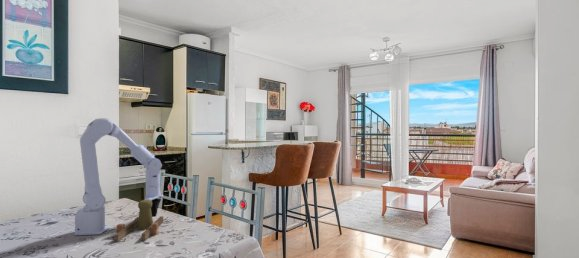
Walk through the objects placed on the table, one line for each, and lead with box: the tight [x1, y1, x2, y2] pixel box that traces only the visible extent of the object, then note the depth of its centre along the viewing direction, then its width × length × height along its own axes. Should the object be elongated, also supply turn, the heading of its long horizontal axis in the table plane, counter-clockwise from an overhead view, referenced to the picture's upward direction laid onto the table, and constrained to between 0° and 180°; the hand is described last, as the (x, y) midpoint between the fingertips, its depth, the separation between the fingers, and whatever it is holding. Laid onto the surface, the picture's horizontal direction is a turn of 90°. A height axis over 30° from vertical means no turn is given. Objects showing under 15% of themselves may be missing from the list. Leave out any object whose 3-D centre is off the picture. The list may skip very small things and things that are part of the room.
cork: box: [136, 199, 154, 231], centre depth 126 cm, size 6×6×11 cm
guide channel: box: [114, 215, 164, 243], centre depth 122 cm, size 14×21×4 cm
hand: (153, 216), depth 136 cm, fingers closed
